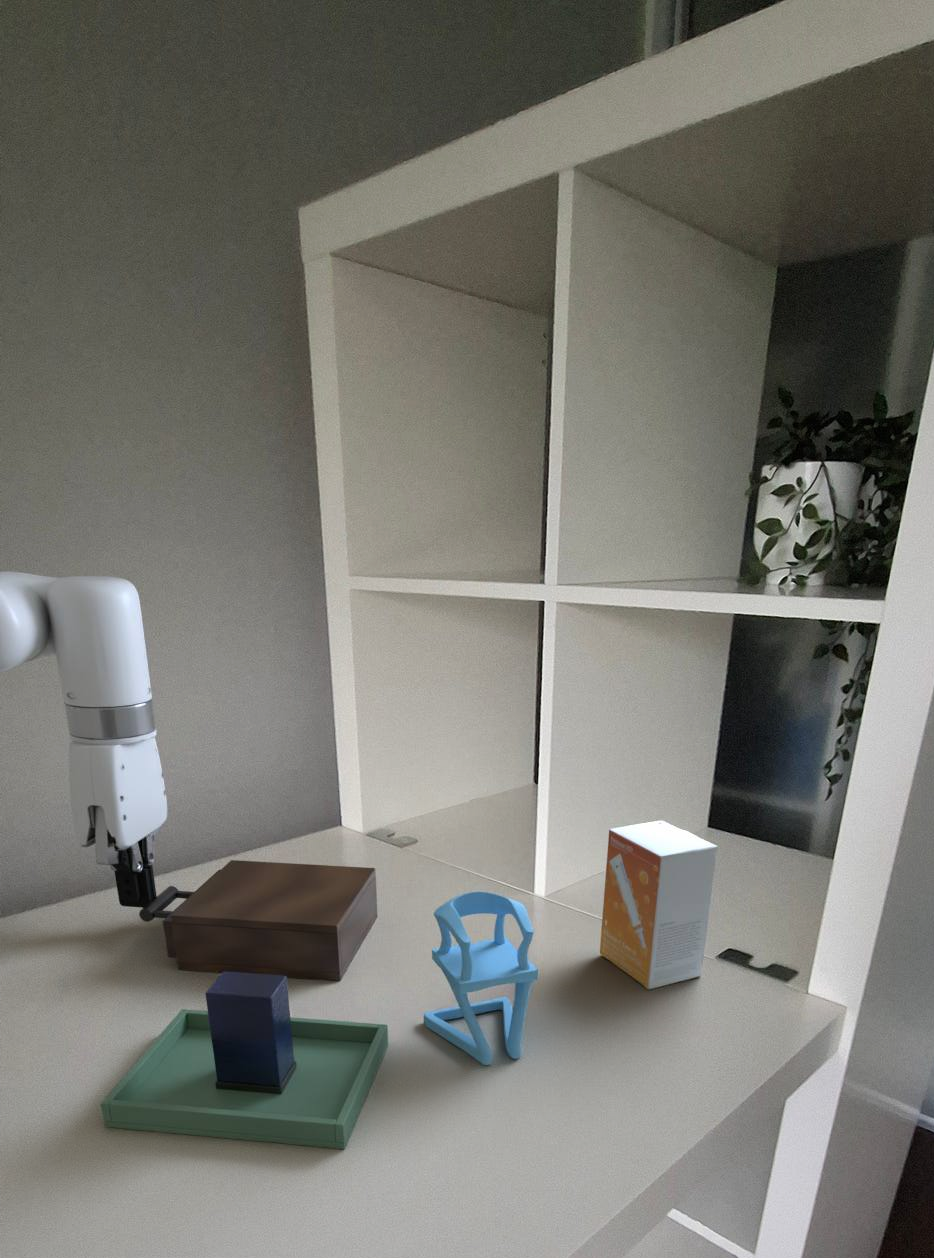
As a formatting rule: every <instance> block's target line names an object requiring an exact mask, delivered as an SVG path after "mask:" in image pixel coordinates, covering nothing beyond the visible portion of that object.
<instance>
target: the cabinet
mask: <svg viewBox="0 0 934 1258" xmlns="http://www.w3.org/2000/svg"><path fill="white" fill-rule="evenodd" d="M213 875H214V874H213ZM213 875H212V876H213ZM202 885H203V884H202ZM202 885H201V886H202ZM377 893H378V892H377V873H376V868H375V867H363V866H362V867H361V866H360V867H359V866H347V865H326V864H310V863H309V864H308V863H291V862H289V863H288V862H273V861H253V860H238V859H237V860H236V859H231V860H230V861H228V862H227V863H226V864H225V865H224V866H223V867H222V868H221V869H220V871H219V872H218V873H217V874H216V875H214V876H213V877H212V878H211V879H210V880H209V881H208V882H207V883H206V884H205V885H203V886H202V887H201V888H200V889H199V890H198V891H197V892H196V893H195V894H194V895H193V896H191V897H190V898H189V899H188V900H187V901H186V902H185V903H184V904H183V905H182V906H180V907H179V908H178V909H177V910H176V911H175V912H174V913H173V914H172V915H171V921H172V929H173V935H174V942H175V949H176V956H177V958H176V961H177V968H178V970H179V971H193V972H194V971H195V972H206V973H208V972H209V973H220V974H222V973H223V972H224V971H226V972H241V973H255V974H269V975H283V976H286V977H287V978H292V979H306V980H321V981H333V982H334V981H335V982H341V981H342V979H343V977H344V975H345V974H346V972H347V970H348V969H349V967H350V965H351V963H352V962H353V960H354V958H355V957H356V955H357V953H358V951H359V950H360V948H361V946H362V944H363V943H364V940H365V939H366V938H367V936H368V934H369V932H370V931H371V929H372V927H373V926H374V924H375V922H376V920H377V919H378V897H377Z"/></svg>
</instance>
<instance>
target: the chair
mask: <svg viewBox="0 0 934 1258" xmlns="http://www.w3.org/2000/svg"><path fill="white" fill-rule="evenodd" d="M481 914H485V915H486V914H489V915H491V914H492V915H496V919H495V923H494V928H493V929H494V930H493V938H490V939H486V940H481V941H478V942H471V941H472V940H471V938H470V936H469V935H468V932H467V930H466V928H465V926H464V925H465V924H464V923H463V921H462V917H466V916H471V915H481ZM506 915H512V917H513V918H514V919H515V921H516V924H517V925H518V927H519V930H520V933H521V935H522V938H523V939H522V941H521V943H520V945H519V947H518V949H517V948H516V947H515V945H514V944H512V942H511V941H510V940H509V939H508V938H507V937H506V936H505V921H506ZM433 916H434V918H435V920H436V922H437V925H438V928H439V931H440V937H441V942H440V946H439V947H436V948H431V959H432V961H433V962H434V963H435V964H436V966H438V968H439V969H440V970H441V972H442V973H443V975H444V977H445V978H446V981H447V982H448V985H449V986H450V988H451V991H452V993H453V995H454V998H455V1000H456V1002H457V1004H458V1005H456V1006H451V1007H445V1008H442V1009H436V1010H430V1011H425V1012H423V1024H424V1025H425V1026H426V1027H427V1028H428V1029H430V1030H431V1031H433V1032H434V1033H436V1034H437V1035H439V1036H440V1037H442V1038H443V1039H445V1040H446V1041H448V1042H449V1043H451V1044H453V1045H455V1046H456V1047H458V1048H459V1049H461V1050H462V1051H464V1052H465V1053H467V1054H468V1055H469V1056H471V1057H473V1058H474V1059H475V1060H476V1061H477V1062H478V1063H480V1064H481V1065H483V1066H489V1065H491V1064H492V1063H493V1062H492V1061H493V1058H492V1049H491V1047H490V1045H489V1043H488V1041H487V1038H486V1036H485V1034H484V1032H483V1030H482V1028H481V1026H480V1024H479V1022H478V1020H477V1017H476V1015H478V1014H484V1013H488V1012H494V1011H502V1018H503V1031H504V1032H503V1035H504V1042H505V1043H504V1044H505V1047H506V1052H507V1054H508V1056H509V1057H510V1058H512V1059H514V1060H518V1059H520V1058H522V1039H523V1033H524V1028H525V1027H524V1026H525V1021H526V1014H527V1008H528V1003H529V998H530V991H531V987H532V984H533V982H534V981H538V979H539V977H538V976H539V969H538V968H537V967H536V966H535V965H534V964H533V963H532V962H531V961H530V960H529V956H528V955H529V948H530V945H531V943H532V941H533V936H534V932H535V930H534V928H533V926H532V924H531V921H530V918H529V914H528V911H527V909H526V906H525V905H524V904H522V903H521V902H519V901H516V900H514V899H511V898H509V897H506V896H503V895H500V894H496V893H493V892H489V891H481V890H479V891H478V890H477V891H470V892H469V891H468V892H466V893H465V892H464V893H462V894H460V895H457V896H455V897H453V898H451V899H450V900H448V901H446V902H444V903H442V904H441V905H440V906H438V907H437V909H435V910H434V912H433ZM452 937H453V938H454V939H455V941H456V943H457V944H458V945H452V943H453V941H452ZM508 984H514V999H513V1005H512V1002H511V1000H510V999H509V998H508V997H506V996H504V997H502V996H501V997H497V998H492V999H486V1000H482V1001H477V1002H471V1003H470V1001H469V998H468V997H469V996H468V994H470V993H474V992H479V991H482V990H485V989H488V988H492V987H497V986H502V985H508ZM459 1018H464V1021H465V1023H466V1025H467V1027H468V1029H469V1032H470V1034H471V1035H469V1034H468V1033H465V1031H462V1030H461V1029H459V1028H457V1027H455V1026H453V1025H451V1024H450V1023H448V1022H446V1021H449V1020H453V1019H459Z"/></svg>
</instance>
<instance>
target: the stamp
mask: <svg viewBox="0 0 934 1258" xmlns="http://www.w3.org/2000/svg"><path fill="white" fill-rule="evenodd" d="M287 978H288V977H286V976H283V975H269V974H255V973H241V972H226V971H224V972H223V973H220V975H219V977H218V978H217V979H216V980H215V981H214V982H213V983H212V984H211V986H210V987H209V988H208V989H207V990H206V992H205V993H204V994H205V1001H206V1010H207V1011H208V1017H209V1024H210V1031H211V1039H212V1046H213V1053H214V1061H215V1068H216V1076H217V1080H216V1082H215V1084H216V1089H224V1090H236V1091H247V1092H259V1093H270V1094H282V1092H283V1091H284V1089H285V1087H286V1085H287V1084H288V1082H289V1080H290V1078H291V1077H292V1075H293V1073H294V1071H295V1070H296V1068H297V1064H296V1061H294V1053H293V1042H292V1031H291V1020H290V1017H291V1011H290V1000H289V989H288V979H287Z"/></svg>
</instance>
